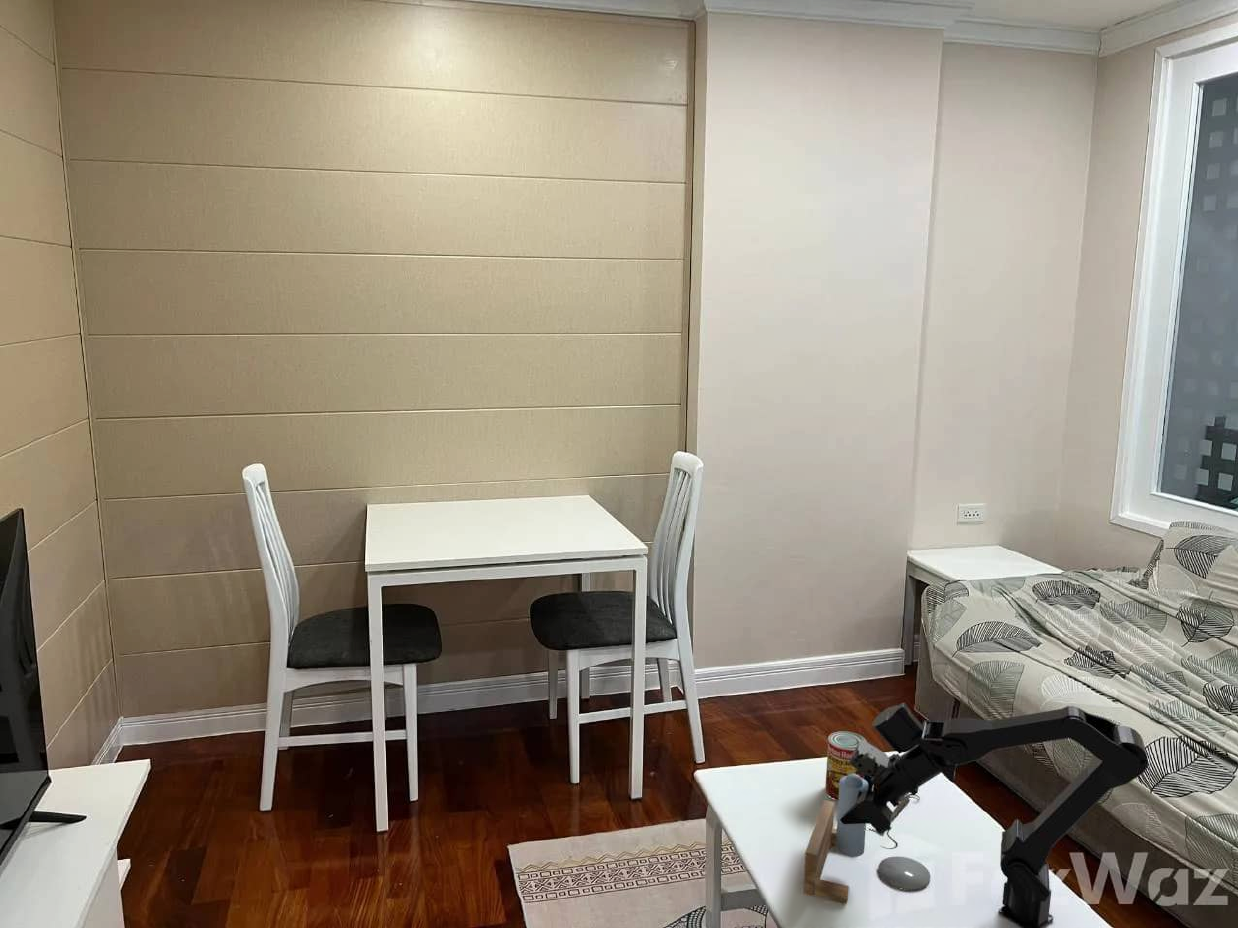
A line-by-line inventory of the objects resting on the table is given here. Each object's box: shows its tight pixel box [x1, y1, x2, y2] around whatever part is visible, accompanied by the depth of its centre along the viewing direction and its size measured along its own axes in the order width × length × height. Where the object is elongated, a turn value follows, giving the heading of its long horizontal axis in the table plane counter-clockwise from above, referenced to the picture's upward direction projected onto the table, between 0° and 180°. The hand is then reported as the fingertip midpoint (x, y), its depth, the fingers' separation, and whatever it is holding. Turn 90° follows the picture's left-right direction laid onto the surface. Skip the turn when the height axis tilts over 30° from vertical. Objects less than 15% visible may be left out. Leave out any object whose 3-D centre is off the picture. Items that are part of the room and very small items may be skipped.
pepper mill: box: [835, 774, 868, 858], centre depth 167 cm, size 5×5×15 cm
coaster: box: [877, 856, 931, 891], centre depth 169 cm, size 9×9×1 cm
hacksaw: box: [868, 793, 920, 850], centre depth 188 cm, size 24×10×2 cm, turn 141°
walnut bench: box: [802, 799, 849, 905], centre depth 170 cm, size 8×18×8 cm, turn 158°
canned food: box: [824, 730, 868, 801], centre depth 195 cm, size 8×8×12 cm
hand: (844, 813), depth 168 cm, fingers closed on pepper mill, 5 cm apart
